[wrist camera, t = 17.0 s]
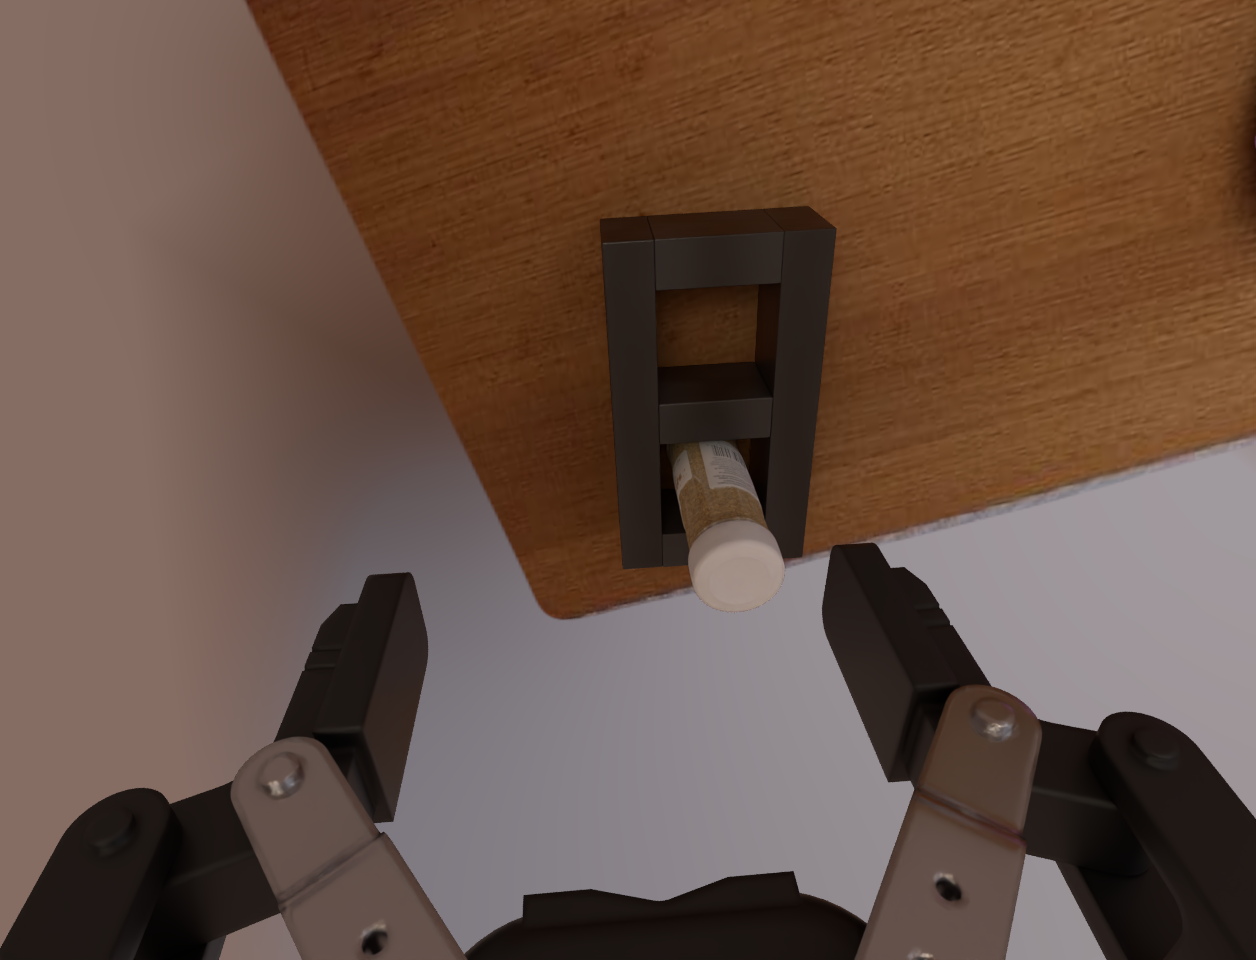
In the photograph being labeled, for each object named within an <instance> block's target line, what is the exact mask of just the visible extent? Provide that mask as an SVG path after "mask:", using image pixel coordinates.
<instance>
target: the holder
mask: <svg viewBox="0 0 1256 960" xmlns="http://www.w3.org/2000/svg"><path fill="white" fill-rule="evenodd" d="M600 231H601V247H602V262H603V277H604V293H605V308H606V323H607V339H608V354H609V369H610V385H611V400H612V415H613V431H614V446H615V461H616V477H617V492H618V507H619V523H620V537H621V551H622V565H623V569H635V568H650V567H662V566H663V567H668V566H683V565H688V556H689V552H690V550H689V545H688V541H687V535H686V531H685V528H684V525H683V521H682V517H681V512H680V507H679V503H678V498H677V494H676V489H663V490H661V476H660V444H675V443H690V442H705V441H720V440H735V439H750V438H751V451H750V470H749V475H750V478H751V480H752V483H753V486H754V488H755V491H756V494H757V496H758V499H759V502H760V504H761V507H762V512H763V516H764V519H765V522H766V524H767V527H768V530H769V531H770V532H771V534H772V535H773V536H774V538H775V539H776V542H777V544H778V547H779V549H780V552H781V555H782V558H783V559H784V558H798V557H802V554H803V544H804V535H805V525H806V515H807V506H808V496H809V487H810V477H811V467H812V458H813V448H814V439H815V429H816V420H817V410H818V400H819V391H820V381H821V372H822V362H823V352H824V343H825V333H826V324H827V314H828V305H829V295H830V285H831V276H832V266H833V257H834V247H835V238H836V228H835V227H834V226H833V225H832V224H830V223H829V222H828V221H827V220H825V219H824V218H823V217H822V216H820V215H819V214H818V213H817V212H815V211H814V210H813V209H812V208H810V207H809V206H803V207H787V208H770V209H755V210H738V211H722V212H705V213H688V214H672V215H655V216H647V217H646V216H640V217H624V218H607V219H600ZM757 284H759V293H758V313H757V333H756V352H755V362H739V363H724V364H708V365H693V366H677V367H661V368H658V364H657V326H656V291H661V290H677V289H693V288H709V287H725V286H741V285H757Z"/></svg>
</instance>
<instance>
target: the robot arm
mask: <svg viewBox="0 0 1256 960" xmlns="http://www.w3.org/2000/svg"><path fill="white" fill-rule="evenodd" d="M822 617H823V624H824V629H825V633H826V636H827V639H828V641H829V644H830V646H831V649H832V651H833V653H834V655H835V658H836V660H837V663H838V665H839V667H840V669H841V672H842V674H843V677H844V679H845V681H846V684H847V686H848V688H849V691H850V693H851V696H852V698H853V700H854V703H855V705H856V707H857V710H858V712H859V714H860V717H861V719H862V721H863V724H864V726H865V729H866V731H867V733H868V736H869V738H870V740H871V743H872V745H873V747H874V750H875V752H876V754H877V757H878V759H879V762H880V764H881V766H882V769H883V771H884V773H885V776H886V778H887V780H888V782H899V781H911V783H912V785H913V787H914V792H913V795H912V798H911V800H910V804H909V806H908V809H907V812H906V815H905V818H904V820H903V823H902V826H901V829H900V832H899V835H898V837H897V841H896V843H895V846H894V849H893V852H892V855H891V857H890V860H889V863H888V866H887V869H886V872H885V875H884V878H883V881H882V883H881V886H880V889H879V892H878V895H877V897H876V900H875V903H874V906H873V909H872V912H871V915H870V918H869V920H868V923H866V922H864V921H863V920H861V919H860V918H859V917H857V916H856V915H854V914H852V913H850V912H849V911H847V910H845V909H843V908H842V907H840V906H838V905H835V904H833V903H831V902H828V901H826V900H824V899H820V898H817V897H814V896H811V895H807V894H802V893H799V890H798V886H797V882H796V879H795V875H794V872H793V871H790V872H779V873H768V874H756V875H745V876H734V877H727V878H724V879H722V880H719V881H716V882H714V883H711V884H708V885H706V886H703V887H701V888H698V889H695V890H692V891H690V892H687V893H685V894H682V895H680V896H677V897H674V898H671V899H669V900H665V901H653V900H647V899H642V898H637V897H631V896H625V895H620V894H615V893H609V892H603V891H598V890H593V889H588V890H576V891H565V892H553V893H542V894H532V895H524V899H523V917H522V918H519V919H517V920H514V921H512V922H509V923H507V924H506V925H504V926H502V927H500V928H498V929H496V930H494V931H493V932H492V933H490V934H488V935H487V936H486V937H484V938H483V939H481V940H480V941H479V942H477V943H476V944H475V945H474V946H473V947H472V948H470V949H469V950H468V951H467V952H466V953H465V954H463V952H462V950H461V949H460V947H459V946H458V944H457V942H456V941H455V939H454V938H453V936H452V935H451V933H450V931H449V930H448V928H447V927H446V925H445V924H444V922H443V920H442V919H441V917H440V916H439V914H438V913H437V911H436V909H435V908H434V906H433V905H432V903H431V902H430V900H429V899H428V897H427V895H426V894H425V892H424V891H423V889H422V888H421V886H420V884H419V883H418V881H417V880H416V878H415V877H414V875H413V873H412V872H411V870H410V869H409V867H408V866H407V864H406V863H405V861H404V859H403V858H402V857H401V855H400V853H399V851H398V850H397V848H396V847H395V845H394V844H393V842H392V841H391V839H390V838H389V837H388V835H387V834H386V833H385V832H382V833H380V832H379V831H378V829H377V828H376V826H375V825H374V823H381V822H393V820H394V815H395V811H396V807H397V801H398V797H399V792H400V788H401V783H402V779H403V774H404V769H405V765H406V760H407V755H408V751H409V745H410V741H411V737H412V732H413V727H414V722H415V718H416V713H417V708H418V704H419V699H420V694H421V689H422V685H423V680H424V676H425V671H426V666H427V659H428V638H427V631H426V627H425V623H424V619H423V614H422V610H421V606H420V602H419V598H418V594H417V590H416V585H415V581H414V578H413V576H412V574H411V573H409V572H407V573H392V574H377V575H369V576H368V577H367V579H366V581H365V584H364V587H363V590H362V593H361V596H360V598H359V601H358V603H356V604H341V605H340V606H339V607H338V608H337V609H336V610H335V611H334V612H333V613H332V614H331V615H330V616H329V618H327V619H326V620H325V622H324V623H323V624H322V625H321V627H320V629H319V631H318V634H317V636H316V639H315V641H314V644H313V647H312V652H310V654H309V656H308V659H307V661H306V664H305V670H304V671H302V674H301V676H300V679H299V681H298V684H297V686H296V689H295V691H294V694H293V696H292V699H291V701H290V703H289V706H288V708H287V711H286V713H285V716H284V718H283V721H282V723H281V726H280V728H279V731H278V733H277V736H276V738H275V740H274V742H273V743H272V744H270V745H268V746H266V747H264V748H262V749H261V750H259V751H258V752H256V753H255V754H254V755H253V756H251V757H250V758H249V760H247V761H246V762H245V763H244V765H243V766H242V767H241V768H240V770H239V771H238V773H237V774H236V776H235V778H234V780H233V781H231V782H229V783H227V784H225V785H223V786H220V787H218V788H215V789H212V790H209V791H206V792H203V793H200V794H198V795H195V796H192V797H189V798H186V799H183V800H181V801H177V802H175V803H172V804H169V802H168V801H167V799H166V798H165V797H164V795H163V794H161V793H160V792H158V791H156V790H153V789H148V788H135V789H129V790H125V791H122V792H119V793H116V794H114V795H111V796H109V797H107V798H105V799H103V800H101V801H99V802H98V803H96V804H95V805H93V806H92V807H90V808H89V809H88V810H86V811H85V812H84V813H83V814H81V815H80V816H79V817H78V818H77V819H76V820H75V821H74V822H73V823H72V824H71V825H70V827H69V828H68V829H67V830H66V831H65V833H64V835H63V836H62V838H61V839H60V841H59V843H58V845H57V846H56V848H55V850H54V852H53V854H52V856H51V857H50V859H49V861H48V863H47V865H46V866H45V868H44V870H43V872H42V874H41V875H40V877H39V879H38V881H37V883H36V885H35V886H34V888H33V890H32V892H31V894H30V895H29V897H28V899H27V901H26V903H25V904H24V906H23V908H22V910H21V912H20V914H19V915H18V917H17V919H16V921H15V923H14V924H13V926H12V928H11V930H10V932H9V933H8V935H7V937H6V939H5V941H4V943H3V944H2V946H1V948H0V960H219V957H220V954H221V951H222V948H223V944H224V941H225V938H226V935H228V934H230V933H232V932H235V931H237V930H240V929H242V928H244V927H247V926H249V925H252V924H254V923H256V922H259V921H261V920H264V919H266V918H269V917H271V916H274V915H276V914H278V913H281V914H282V917H283V919H284V921H285V923H286V926H287V928H288V930H289V932H290V934H291V937H292V939H293V941H294V943H295V945H296V947H297V949H298V952H299V954H300V956H301V958H302V960H1005V957H1006V952H1007V947H1008V942H1009V937H1010V931H1011V927H1012V921H1013V916H1014V911H1015V906H1016V901H1017V895H1018V890H1019V885H1020V880H1021V875H1022V870H1023V864H1024V859H1025V854H1028V855H1032V856H1036V857H1041V858H1045V859H1050V860H1054V861H1056V863H1057V865H1058V867H1059V869H1060V871H1061V873H1062V875H1063V877H1064V879H1065V881H1066V883H1067V885H1068V886H1069V888H1070V890H1071V892H1072V894H1073V896H1074V898H1075V900H1076V902H1077V904H1078V906H1079V908H1080V909H1081V911H1082V913H1083V915H1084V917H1085V919H1086V921H1087V923H1088V925H1089V927H1090V929H1091V931H1092V933H1093V934H1094V936H1095V938H1096V940H1097V942H1098V944H1099V946H1100V948H1101V950H1102V952H1103V954H1104V956H1105V958H1106V959H1107V960H1256V819H1255V818H1254V816H1253V815H1252V814H1251V812H1250V811H1249V810H1248V809H1247V807H1246V806H1245V805H1244V804H1243V803H1242V801H1241V800H1240V799H1239V798H1238V796H1237V795H1236V794H1235V792H1234V791H1233V790H1232V789H1231V787H1230V786H1229V785H1228V784H1227V783H1226V781H1225V780H1224V779H1223V777H1222V776H1221V775H1220V774H1219V772H1218V771H1217V770H1216V769H1215V767H1214V766H1213V765H1212V764H1211V762H1210V761H1209V760H1208V759H1207V757H1206V756H1205V755H1204V754H1203V752H1202V751H1201V750H1200V748H1199V747H1198V746H1197V745H1196V744H1195V743H1194V742H1193V741H1192V740H1191V739H1190V738H1189V737H1188V736H1187V735H1185V734H1184V733H1183V732H1181V731H1180V730H1178V729H1177V728H1175V727H1174V726H1172V725H1170V724H1168V723H1166V722H1164V721H1162V720H1160V719H1157V718H1155V717H1152V716H1149V715H1145V714H1142V713H1136V712H1118V713H1115V714H1111V715H1109V716H1108V717H1106V718H1105V719H1104V720H1103V721H1102V723H1101V725H1100V727H1099V729H1098V731H1093V730H1087V729H1082V728H1076V727H1071V726H1065V725H1061V724H1055V723H1050V722H1046V721H1042V720H1040V719H1037V717H1036V716H1035V714H1034V713H1033V712H1032V711H1031V709H1030V708H1029V707H1028V706H1027V705H1026V704H1025V703H1023V702H1022V701H1021V700H1019V699H1018V698H1017V697H1015V696H1013V695H1011V694H1010V693H1008V692H1005V691H1003V690H1001V689H998V688H995V687H992V686H991V685H990V683H989V681H988V680H987V678H986V677H985V675H984V674H983V672H982V671H981V669H980V667H979V666H978V664H977V663H976V661H975V660H974V658H973V656H972V655H971V653H970V652H969V650H968V649H967V647H966V646H965V644H964V642H963V641H962V639H961V638H960V636H959V635H958V633H957V631H956V630H955V628H954V627H953V625H950V621H949V619H948V618H947V616H946V614H945V613H944V612H943V610H942V609H940V608H939V603H938V602H937V600H936V599H935V597H934V596H933V594H932V592H931V591H930V589H929V588H928V586H927V585H926V584H925V583H924V582H923V581H921V580H920V579H919V578H917V577H916V576H915V575H914V574H912V573H911V572H910V571H908V570H907V569H906V568H905V567H900V568H890V566H889V564H888V563H887V561H886V559H885V558H884V556H883V554H882V553H881V551H880V549H879V548H878V546H877V545H876V544H875V543H860V544H845V545H835V546H834V547H833V548H832V550H831V554H830V560H829V567H828V573H827V579H826V585H825V592H824V598H823V605H822Z"/></svg>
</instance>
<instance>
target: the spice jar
mask: <svg viewBox="0 0 1256 960" xmlns="http://www.w3.org/2000/svg"><path fill="white" fill-rule="evenodd" d="M666 450H667V457H668V460H669V461H670V463H671V467H672V471H673V481H674V485H675V489H676V494H677V498H678V503H679V507H680V512H681V517H682V521H683V525H684V528H685V531H686V535H687V541H688V545H689V550H690V552H689V556H688V566H689V571H690V576H691V580H692V584H693V588H694V590H695V592H696V594H697V596H698V597H699V598H700V599H701V600H702V601H703V602H704V603H705V604H707V605H708V606H710V607H712V608H714V609H717V610H720V611H725V612H742V611H748V610H751V609H754V608H757V607H759V606H761V605H763V604H764V603H766V602H767V601H769V600H770V599H771V598H772V597H773V596H774V595H775V594H776V593H777V592H778V590H779V589H780V587H781V585H782V583H783V580H784V576H785V566H784V561H783V558H782V555H781V552H780V549H779V547H778V544H777V542H776V539H775V538H774V536H773V535H772V534H771V532H770V531H769V530H768V527H767V524H766V522H765V519H764V516H763V512H762V507H761V504H760V502H759V499H758V496H757V494H756V491H755V488H754V486H753V483H752V480H751V478H750V475H749V473H748V470H747V468H746V465H745V462H744V460H743V457H742V456H741V454H740V452H739V450H738V448H737V440H736V439H735V440H720V441H705V442H690V443H675V444H667V447H666Z"/></svg>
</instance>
